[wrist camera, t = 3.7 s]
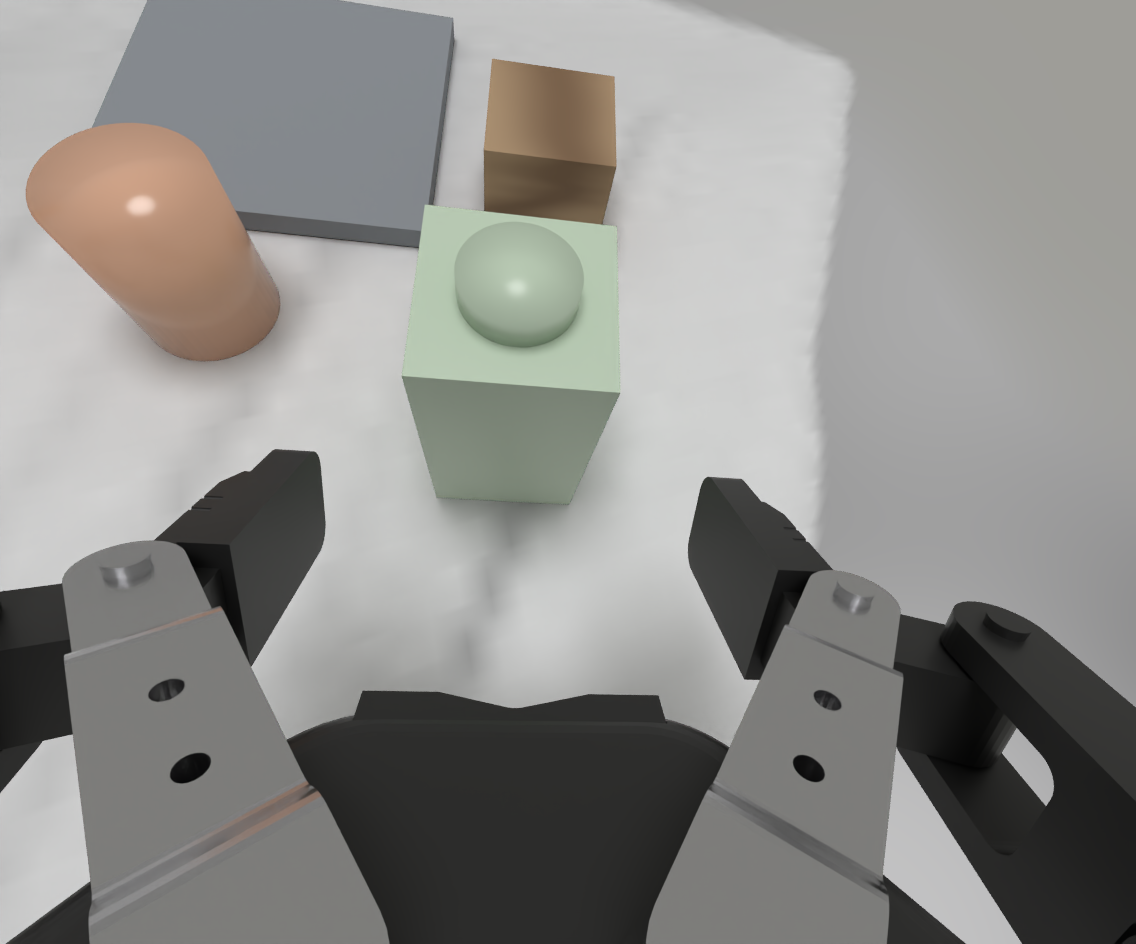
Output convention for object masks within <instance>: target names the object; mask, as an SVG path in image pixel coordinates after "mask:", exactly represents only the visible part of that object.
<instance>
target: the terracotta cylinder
mask: <svg viewBox="0 0 1136 944" xmlns="http://www.w3.org/2000/svg"><path fill="white" fill-rule="evenodd" d="M26 201H27V205H28V208H29V210H30V212H31V215H32V216H33V217H34V219H35V220H36V222H37V223H38V224H39V225H40V226H41V227H42V228H43V229H44V230H45V231H46V232H47V233H48V234H49V235H50V236H51V237H52V238H53V239H54V240H55V241H56V242H57V243H58V244H59V245H60V246H61V247H62V248H63V249H64V250H65V251H66V252H67V253H68V254H69V255H70V256H71V257H72V258H73V259H74V260H75V261H76V262H77V263H78V264H79V265H80V266H81V267H82V268H83V269H84V270H85V272H86V273H87V274H88V275H89V276H90V277H91V278H92V279H93V280H94V281H95V282H96V283H97V284H98V285H99V286H100V287H101V288H102V289H103V290H104V291H105V292H106V293H107V294H108V295H109V296H110V297H111V298H112V299H113V300H114V301H115V302H116V303H117V304H118V305H119V306H120V307H121V308H122V309H123V310H124V311H125V312H126V313H127V314H128V315H129V316H130V317H131V318H132V319H133V320H134V321H135V322H136V323H137V324H138V325H139V326H140V327H141V328H142V329H143V330H144V331H145V332H146V333H147V334H148V335H149V336H150V337H151V338H152V339H153V340H154V341H155V342H156V343H157V344H158V345H159V346H160V347H161V348H162V349H164V350H165V351H167V352H169V353H171V354H173V355H175V356H178V357H180V358H184V359H188V360H195V361H215V360H221V359H226V358H230V357H233V356H236V355H239V354H241V353H243V352H245V351H247V350H249V349H251V348H252V347H254V346H255V345H257V344H258V343H259V342H260V341H261V340H263V339H264V338H265V337H266V336H267V334H268V333H269V332H270V331H271V329H272V328H273V326H274V324H275V322H276V320H277V318H278V315H279V310H280V297H279V292H278V290H277V287H276V285H275V283H274V281H273V279H272V278H271V276H270V274H269V272H268V270H267V268H266V266H265V265H264V263H263V261H262V259H261V257H260V255H259V253H258V252H257V250H256V248H255V246H254V244H253V242H252V240H251V239H250V237H249V235H248V233H247V231H246V229H245V228H244V226H243V224H242V222H241V220H240V218H239V216H238V215H237V213H236V211H235V209H234V207H233V205H232V203H231V202H230V200H229V198H228V196H227V194H226V192H225V190H224V189H223V187H222V185H221V183H220V181H219V179H218V177H217V176H216V174H215V172H214V170H213V168H212V166H211V164H210V163H209V161H208V159H207V157H206V156H205V154H204V153H203V152H202V150H201V149H200V148H199V147H198V146H197V145H196V144H195V143H194V142H192V141H191V140H189V139H188V138H186V137H185V136H183V135H181V134H179V133H177V132H175V131H172V130H170V129H167V128H163V127H160V126H156V125H150V124H142V123H116V124H108V125H102V126H98V127H94V128H90V129H87V130H84V131H81V132H78V133H76V134H74V135H72V136H70V137H67V138H66V139H64V140H62V141H61V142H59V143H57V144H56V145H55V146H53V147H52V148H51V149H49V150H48V151H47V152H46V153H45V154H44V155H43V156H42V157H41V158H40V159H39V160H38V162H37V163H36V164H35V166H34V167H33V169H32V171H31V173H30V175H29V178H28V181H27V186H26Z"/></svg>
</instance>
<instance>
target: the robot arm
mask: <svg viewBox="0 0 1136 944" xmlns="http://www.w3.org/2000/svg"><path fill="white" fill-rule="evenodd" d="M324 536H325V511H324V500H323V488H322V476H321V466H320V460H319V457H318V455H317V453H316V452H312V451H296V450H280V449H275V450H273V451H272V452H271V453H270V454H268V455H267V456H266V457H265V458H264V459H263V460H262V461H261V462H260V463H259V464H258V465H257V466H256V467H255V468H254V469H253V470H252V471H251V472H248V471H244V472H241V473H239V474H237V475H235V476H232V477H230V478H228V479H226V480H223V481H221V482H219V483H218V484H217V485H216V486H215V487H214V488H213V489H211V490H210V491H209V492H208V493H207V494H206V495H205V496H204V499H200V500H199V501H198V502H197V503H196V504H194V505H193V506H192V509H191V510H188V511H187V512H185V513H184V514H183V515H182V516H181V517H180V518H179V519H178V520H176V521H175V522H174V523H173V524H172V525H171V526H170V527H169V528H167V529H166V530H165V531H164V532H163V533H162V534H161V535H159V536H158V537H157V538H156V539H155V540H154V541H138V542H130V543H125V544H120V545H116V546H113V547H109V548H106V549H103V550H100V551H98V552H95V553H93V554H91V555H89V556H87V557H85V558H83V559H81V560H80V561H78V562H77V563H75V564H74V565H73V566H72V567H70V568H69V569H68V570H67V572H66V573H65V575H64V577H63V580H62V584H56V585H48V586H40V587H33V588H25V589H18V590H10V591H2V592H0V793H1V791H2V790H3V789H4V788H5V787H6V785H7V784H8V783H9V782H10V781H11V779H12V778H13V777H14V776H15V775H16V773H17V772H18V771H19V770H20V769H21V767H22V766H23V765H24V764H25V762H26V761H27V760H28V759H29V758H30V756H31V755H32V754H33V753H34V752H35V750H36V749H37V748H38V747H39V745H40V744H41V743H42V741H44V740H49V739H53V738H58V737H62V736H67V735H71V734H73V740H74V748H75V756H76V764H77V773H78V781H79V789H80V798H81V806H82V814H83V822H84V831H85V839H86V847H87V856H88V864H89V872H90V880H91V881H90V882H89V883H87V884H86V885H85V886H83V887H82V888H81V889H79V890H78V891H77V892H75V893H74V894H72V895H71V896H70V897H68V898H67V899H66V900H64V901H63V902H62V903H60V904H59V905H58V906H56V907H55V908H53V909H52V910H51V911H49V912H48V913H47V914H45V915H44V916H43V917H41V918H40V919H39V920H37V921H36V922H35V923H33V924H32V925H30V926H29V927H28V928H26V929H25V930H24V931H22V932H21V933H20V934H18V935H17V936H16V937H14V938H13V939H11V940H10V941H9V942H7V943H6V944H965V943H964V942H963V941H962V940H960V939H959V938H958V937H957V936H956V935H955V934H953V933H952V932H951V931H950V930H949V929H947V928H946V927H945V926H944V925H943V924H942V923H940V922H939V921H938V920H937V919H936V918H934V917H933V916H932V915H931V914H929V913H928V912H927V911H926V910H925V909H924V908H922V907H921V906H920V905H919V904H917V903H916V902H915V901H914V900H913V899H911V898H910V897H909V896H908V895H907V894H906V893H904V892H903V891H902V890H901V889H899V888H898V887H897V886H896V885H895V884H893V883H892V882H891V881H890V880H889V879H888V878H886V877H885V876H884V875H883V865H884V856H885V846H886V837H887V828H888V819H889V809H890V799H891V790H892V781H893V771H894V762H895V752H896V747H897V749H898V751H899V753H900V754H901V756H902V757H903V759H904V760H905V762H906V763H907V765H908V767H909V768H910V770H911V771H912V773H913V774H914V776H915V778H916V779H917V780H918V782H919V784H920V785H921V787H922V788H923V790H924V792H925V793H926V795H927V796H928V798H929V799H930V801H931V802H932V804H933V806H934V807H935V809H936V810H937V811H938V813H939V815H940V816H941V818H942V819H943V821H944V823H945V824H946V826H947V827H948V829H949V830H950V832H951V834H952V835H953V836H954V838H955V840H956V841H957V843H958V844H959V846H960V847H961V849H962V850H963V852H964V854H965V855H966V857H967V858H968V860H969V862H970V863H971V865H972V866H973V868H974V869H975V871H976V872H977V874H978V876H979V877H980V878H981V880H982V882H983V883H984V885H985V887H986V888H987V890H988V891H989V893H990V894H991V896H992V897H993V899H994V900H995V902H996V903H997V905H998V907H999V908H1000V910H1001V911H1002V913H1003V914H1004V916H1005V918H1006V919H1007V921H1008V922H1009V924H1010V925H1011V927H1012V929H1013V930H1014V931H1015V933H1016V935H1017V936H1018V938H1019V939H1020V941H1021V942H1022V944H1136V707H1134V706H1133V705H1132V704H1131V703H1130V702H1128V701H1127V700H1126V699H1125V698H1124V697H1122V696H1121V695H1120V694H1119V693H1118V692H1117V691H1115V690H1114V689H1113V688H1112V687H1111V686H1109V685H1108V684H1107V683H1106V682H1105V681H1103V680H1102V679H1101V678H1100V677H1099V676H1098V675H1096V674H1095V673H1094V672H1093V671H1092V670H1091V669H1089V668H1088V667H1087V666H1086V665H1084V664H1083V663H1082V662H1081V661H1080V660H1079V659H1077V658H1076V657H1075V656H1074V655H1073V654H1071V653H1070V652H1069V651H1068V650H1067V649H1065V648H1064V647H1063V646H1062V645H1061V644H1060V643H1058V642H1057V641H1056V640H1055V639H1054V638H1053V637H1051V636H1050V635H1049V634H1048V633H1047V632H1045V631H1044V630H1043V629H1041V628H1040V627H1039V626H1037V625H1035V624H1034V623H1032V622H1031V621H1029V620H1027V619H1025V618H1024V617H1021V616H1019V615H1017V614H1016V613H1013V612H1010V611H1008V610H1006V609H1003V608H1000V607H997V606H994V605H990V604H986V603H981V602H968V601H967V602H961V603H958V604H956V605H955V606H954V608H953V610H952V612H951V614H950V616H949V618H948V620H947V623H946V625H944V624H939V623H936V622H931V621H927V620H923V619H918V618H914V617H910V616H906V615H902V614H900V613H901V612H900V606H899V604H898V602H897V601H896V599H895V598H894V597H893V596H892V595H891V594H890V593H889V592H887V591H886V590H885V589H883V588H881V587H880V586H879V585H877V584H875V583H874V582H872V581H869V580H867V579H865V578H863V577H860V576H857V575H854V574H851V573H846V572H842V571H835V570H833V569H832V568H831V567H830V566H829V565H828V564H827V563H826V562H825V560H824V559H823V558H822V557H821V556H820V555H819V553H818V552H817V551H816V550H815V549H814V548H813V547H812V546H811V544H810V543H809V542H806V539H805V538H804V536H803V535H802V534H801V533H800V532H799V531H797V530H796V527H795V526H794V525H793V524H792V523H791V522H790V521H789V520H788V518H787V517H786V516H785V515H784V514H783V513H781V512H779V511H778V510H776V509H775V508H773V507H771V506H770V505H768V504H767V503H765V502H761V501H760V500H759V498H758V497H757V496H756V495H755V494H754V492H753V491H752V490H751V489H750V488H749V486H748V485H747V484H746V483H745V482H744V481H743V480H742V479H733V478H717V477H707V478H705V479H704V481H703V483H702V485H701V488H700V493H699V497H698V502H697V506H696V511H695V515H694V520H693V524H692V528H691V533H690V537H689V543H688V559H689V564H690V568H691V570H692V572H693V574H694V576H695V578H696V580H697V582H698V585H699V587H700V589H701V591H702V593H703V595H704V597H705V599H706V601H707V603H708V605H709V607H710V609H711V611H712V613H713V616H714V618H715V620H716V622H717V624H718V626H719V628H720V630H721V632H722V634H723V636H724V638H725V640H726V642H727V645H728V647H729V649H730V651H731V653H732V655H733V657H734V659H735V661H736V663H737V665H738V667H739V669H740V671H741V673H742V676H743V678H744V679H746V680H760V681H759V683H758V686H757V688H756V690H755V692H754V694H753V697H752V699H751V701H750V703H749V705H748V708H747V710H746V712H745V714H744V717H743V719H742V721H741V723H740V725H739V728H738V730H737V732H736V734H735V737H734V739H733V741H732V743H731V745H730V748H729V747H728V746H726V745H725V744H723V743H722V742H720V741H718V740H716V739H715V738H713V737H711V736H709V735H707V734H706V733H703V732H701V731H699V730H697V729H694V728H692V727H690V726H687V725H684V724H681V723H678V722H675V721H671V720H667V719H665V717H664V714H663V710H662V707H661V703H660V700H659V696H658V695H597V694H588V695H583V696H578V697H573V698H568V699H563V700H558V701H553V702H549V703H544V704H539V705H534V706H529V707H524V708H507V707H502V706H498V705H494V704H489V703H485V702H480V701H476V700H472V699H467V698H463V697H458V696H454V695H450V694H445V693H441V692H409V691H362V694H361V697H360V700H359V703H358V706H357V709H356V712H355V715H354V716H349V717H344V718H340V719H337V720H333V721H330V722H327V723H323V724H321V725H318V726H316V727H313V728H311V729H308V730H306V731H303V732H301V733H299V734H297V735H295V736H293V737H291V738H289V739H287V740H286V738H285V736H284V734H283V732H282V730H281V728H280V726H279V724H278V722H277V720H276V718H275V716H274V714H273V711H272V709H271V707H270V705H269V703H268V701H267V699H266V697H265V695H264V693H263V691H262V689H261V687H260V685H259V683H258V681H257V679H256V677H255V674H254V672H253V670H252V668H251V666H252V665H253V663H254V661H255V660H256V658H257V656H258V655H259V653H260V651H261V650H262V648H263V646H264V645H265V643H266V641H267V640H268V638H269V636H270V635H271V633H272V631H273V630H274V628H275V626H276V624H277V623H278V621H279V619H280V618H281V616H282V614H283V613H284V611H285V609H286V608H287V606H288V604H289V603H290V601H291V599H292V598H293V596H294V594H295V593H296V591H297V589H298V588H299V586H300V584H301V583H302V581H303V579H304V578H305V576H306V574H307V573H308V571H309V569H310V568H311V566H312V564H313V562H314V561H315V559H316V557H317V556H318V554H319V552H320V550H321V548H322V545H323V541H324ZM1016 728H1018V729H1019V731H1020V732H1021V733H1022V734H1023V735H1024V736H1025V737H1026V738H1027V739H1028V741H1029V742H1030V743H1031V744H1032V745H1033V746H1034V747H1035V748H1036V749H1037V750H1038V752H1040V754H1041V755H1042V756H1043V758H1044V759H1045V760H1046V762H1047V764H1048V766H1049V768H1050V770H1051V773H1052V776H1053V780H1054V792H1053V796H1052V798H1051V800H1050V802H1049V803H1048V804H1047V806H1045V805H1044V803H1043V802H1042V801H1041V800H1040V799H1039V797H1038V796H1037V795H1036V794H1035V793H1034V791H1033V790H1032V789H1031V788H1030V787H1029V786H1028V784H1027V783H1026V782H1025V781H1024V779H1023V778H1022V777H1021V776H1020V775H1019V774H1018V772H1017V771H1016V770H1015V769H1014V767H1013V766H1012V765H1011V764H1010V763H1009V761H1008V760H1007V759H1006V758H1005V757H1004V755H1003V754H1002V751H1003V750H1004V748H1005V746H1006V745H1007V743H1008V741H1009V740H1010V738H1011V736H1012V735H1013V733H1014V731H1015V730H1016Z"/></svg>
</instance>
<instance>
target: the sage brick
mask: <svg viewBox="0 0 1136 944" xmlns="http://www.w3.org/2000/svg"><path fill="white" fill-rule="evenodd" d="M402 379H403V382H404V386H405V389H406V393H407V396H408V400H409V403H410V407H411V410H412V414H413V417H414V420H415V424H416V427H417V431H418V434H419V438H420V441H421V445H422V448H423V452H424V455H425V459H426V462H427V466H428V469H429V473H430V476H431V480H432V483H433V487H434V490H435V493H436V497H437V498H452V499H472V500H491V501H510V502H529V503H548V504H567V505H569V504H570V502H571V499H572V497H573V495H574V493H575V491H576V488H577V486H578V484H579V482H580V480H581V478H582V475H583V473H584V471H585V469H586V467H587V464H588V462H589V460H590V458H591V456H592V454H593V451H594V449H595V447H596V445H597V443H598V440H599V438H600V436H601V434H602V432H603V430H604V427H605V425H606V423H607V421H608V419H609V416H610V414H611V412H612V410H613V408H614V406H615V403H616V401H617V399H618V397H619V395H620V354H619V308H618V262H617V226H609V225H601V224H592V223H583V222H574V221H565V220H556V219H548V218H539V217H530V216H521V215H512V214H504V213H495V212H486V211H477V210H468V209H460V208H451V207H442V206H433V205H425V207H424V215H423V222H422V229H421V237H420V244H419V252H418V259H417V266H416V274H415V281H414V288H413V296H412V303H411V311H410V318H409V325H408V333H407V340H406V348H405V355H404V362H403V370H402Z"/></svg>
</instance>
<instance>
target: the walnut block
mask: <svg viewBox="0 0 1136 944" xmlns="http://www.w3.org/2000/svg"><path fill="white" fill-rule="evenodd" d="M615 170H616V127H615V83H614V76H607V75H600V74H593V73H586V72H579V71H572V70H566V69H559V68H552V67H545V66H538V65H531V64H524V63H517V62H511V61H504V60H497V59H492V67H491V77H490V88H489V99H488V110H487V121H486V132H485V143H484V211H486V212H495V213H504V214H512V215H521V216H530V217H539V218H548V219H556V220H565V221H574V222H583V223H592V224H601V225H602V223H603V219H604V215H605V211H606V207H607V203H608V199H609V195H610V191H611V187H612V182H613V178H614V174H615Z"/></svg>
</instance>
